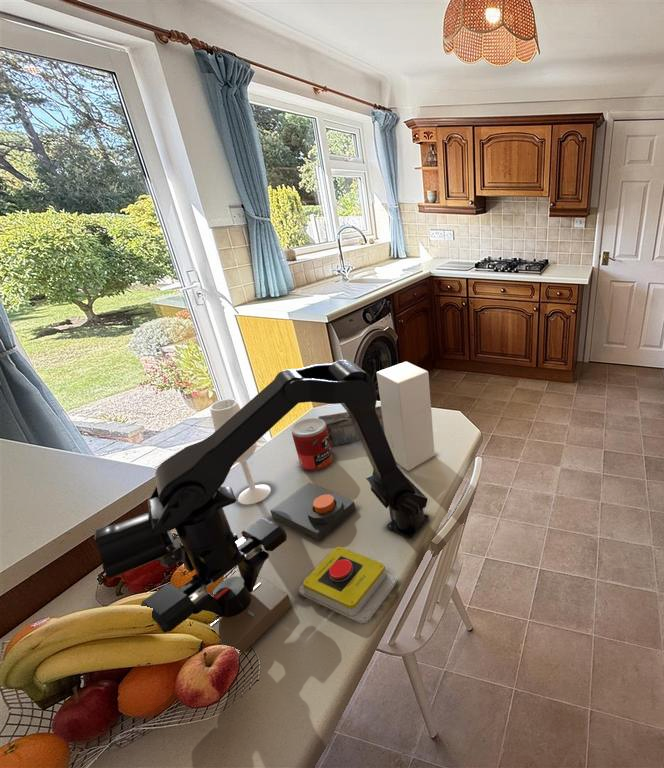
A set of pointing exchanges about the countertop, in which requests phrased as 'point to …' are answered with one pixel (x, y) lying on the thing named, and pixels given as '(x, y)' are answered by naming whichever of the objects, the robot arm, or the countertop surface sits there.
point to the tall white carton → (407, 413)
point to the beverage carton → (344, 427)
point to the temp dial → (232, 596)
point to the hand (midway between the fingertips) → (235, 602)
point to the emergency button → (349, 584)
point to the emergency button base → (311, 511)
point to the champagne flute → (254, 493)
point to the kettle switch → (324, 504)
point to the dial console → (252, 616)
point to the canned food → (312, 443)
